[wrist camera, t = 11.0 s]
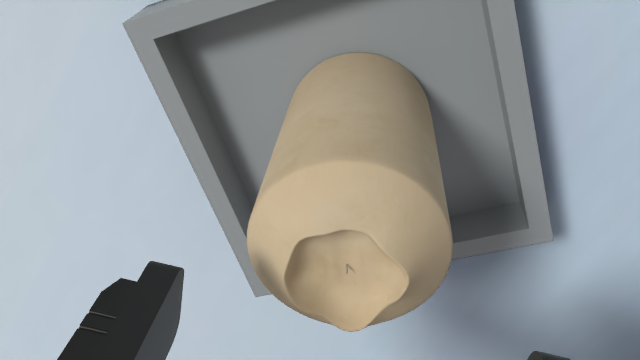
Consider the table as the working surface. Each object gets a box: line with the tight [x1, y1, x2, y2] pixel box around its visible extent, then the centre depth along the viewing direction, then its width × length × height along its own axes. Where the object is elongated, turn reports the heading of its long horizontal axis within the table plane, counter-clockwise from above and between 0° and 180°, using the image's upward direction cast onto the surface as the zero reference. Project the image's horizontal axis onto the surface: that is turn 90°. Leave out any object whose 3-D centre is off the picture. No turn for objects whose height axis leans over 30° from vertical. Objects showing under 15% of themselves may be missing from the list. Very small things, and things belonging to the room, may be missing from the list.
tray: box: [123, 0, 553, 297], centre depth 22 cm, size 13×13×2 cm
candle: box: [247, 52, 453, 332], centre depth 19 cm, size 6×6×10 cm
